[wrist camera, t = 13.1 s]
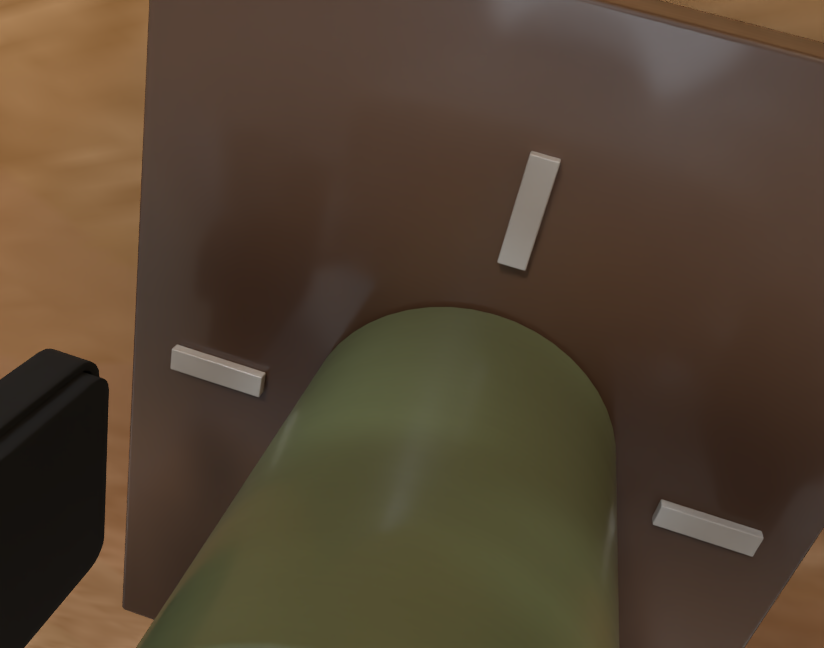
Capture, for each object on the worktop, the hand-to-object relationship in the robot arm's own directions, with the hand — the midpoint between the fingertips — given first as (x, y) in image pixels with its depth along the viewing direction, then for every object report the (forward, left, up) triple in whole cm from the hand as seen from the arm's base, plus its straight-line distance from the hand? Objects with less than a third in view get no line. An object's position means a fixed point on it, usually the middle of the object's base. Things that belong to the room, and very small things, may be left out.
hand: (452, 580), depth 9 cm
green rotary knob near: (0, 0, -2) cm, 2 cm away
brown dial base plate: (0, 0, -5) cm, 5 cm away
